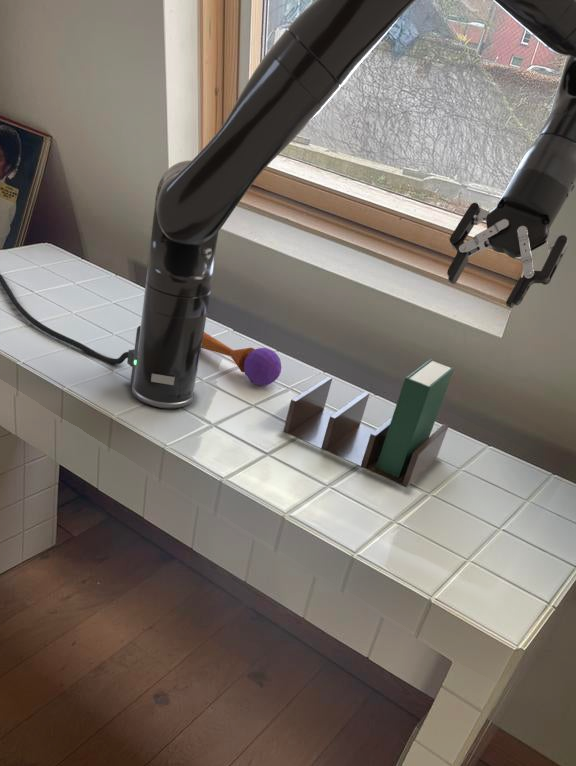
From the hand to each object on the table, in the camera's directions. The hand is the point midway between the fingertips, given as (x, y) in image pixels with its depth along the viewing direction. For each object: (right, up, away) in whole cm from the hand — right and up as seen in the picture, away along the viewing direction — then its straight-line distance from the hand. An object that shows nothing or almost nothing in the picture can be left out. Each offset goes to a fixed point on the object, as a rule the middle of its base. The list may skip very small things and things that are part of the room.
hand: (479, 293), depth 111 cm
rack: (-14, -20, +9) cm, 27 cm away
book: (-9, -22, +7) cm, 25 cm away
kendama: (-33, -5, +26) cm, 42 cm away
